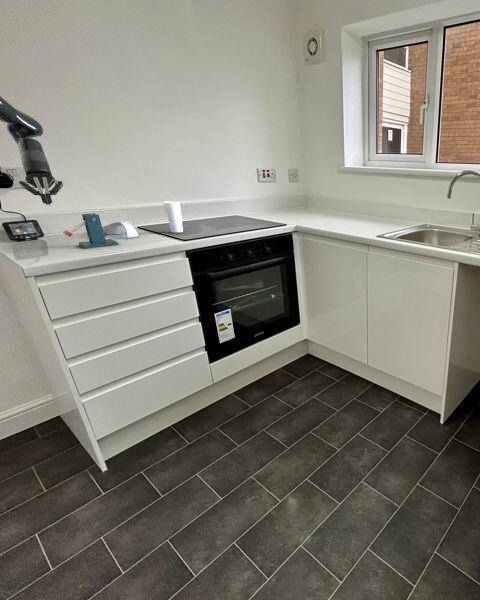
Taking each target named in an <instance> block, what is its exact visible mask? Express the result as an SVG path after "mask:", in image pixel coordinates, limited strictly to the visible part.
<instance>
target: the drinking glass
mask: <svg viewBox="0 0 480 600" xmlns="http://www.w3.org/2000/svg"><path fill="white" fill-rule="evenodd" d="M163 207H164V213H165V215H166V218H167V222H168V225H169V228H170V232H171V233H172V234H181V233H183V232H184V226H183V217H182V209H181V203H180V201H164V202H163Z"/></svg>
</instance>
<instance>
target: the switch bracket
mask: <svg viewBox="0 0 480 600" xmlns="http://www.w3.org/2000/svg"><path fill="white" fill-rule="evenodd" d="M91 214H92V215H91ZM81 217H82V222H84V221H86V222H87V224H86V225H84V227H85V230H86V234H87V238H88V241H79V242H78V243H77V244H78V246H80V247H81V248H83V249H94V248H103V247H111V246H118V244H119V242H118V241H116V240H114V239H112V238H106V236H105V233H104V232H103V228H102V226H103V224H102V221H101V217H100V215H99V214H97V213H95V212H94V213H93V212H92V213H81ZM85 218H86V219H85Z"/></svg>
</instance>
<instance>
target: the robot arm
mask: <svg viewBox="0 0 480 600" xmlns="http://www.w3.org/2000/svg"><path fill="white" fill-rule="evenodd" d="M0 122H3V123H5V129H6V131H7V133H8V134H9V135H10V136H11V138H12V139H13V140H14V142H15V144H16V145H17V148H18V151H19V154H20V160H21V164H22V166H23V170H24V174H25V177H24V180H20V181H19V182H18V184H19V185H20V187H21V188H23V189H24V190H26V191H27V192H29V193H31V194H32V195H34V196H39V197H40V199H41V202H42V203H43V204H45V205H46V206H50V205H51V204H52V203H53V200H52V196H56V195H57V194H58V193H59V192H60V191H61V189H62V188H63V187H64V183H63V181H62V180H57V179H56V178H55V177H54V176H53V173H52V171H51V168H50V167H51V166H50V163H49V161H48V158H47V157H46V153H45V151H44V147H43V145H42V143H41V142H40V141H39V140H37V139H35V138H39V137H41V136H43V134H44V128H43V126H42V125H41V123H40V122H39V121H37V119H35V118H34V117H32V116H30V115H28V114H27V113H25V112H23V111H21V110H19V109H18V108H16V107H14V106H13V105H12V104H11V103H10V102H8V101H7V100H6V99H4V97H2V96H1V95H0ZM43 189H44V190H43Z"/></svg>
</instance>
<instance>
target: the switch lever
mask: <svg viewBox="0 0 480 600" xmlns="http://www.w3.org/2000/svg"><path fill="white" fill-rule="evenodd" d="M90 214H91V215H92V214H93V213H90ZM85 219H86V218H85ZM86 224H87V222H86V221H82V222H81V223H79V224H78V225H76V226H74V227H73V228H71V229H70V230H64V231H63V232H62V233H63V234H64V235H65V236H67V237H69V238H70V237H73V236H74V234H73V233H74V232H76V231H78V230H80V229H81V228H83V227H85V225H86Z"/></svg>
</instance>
